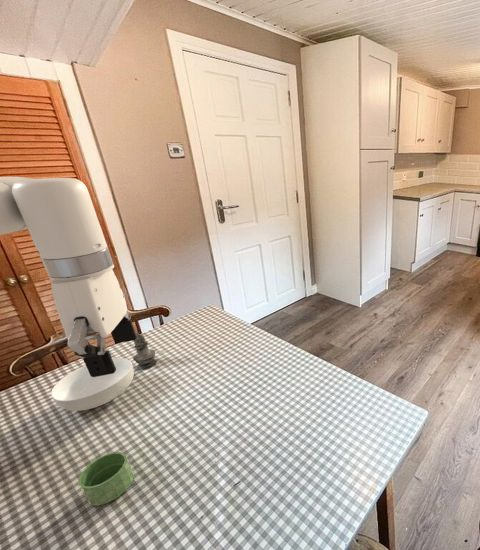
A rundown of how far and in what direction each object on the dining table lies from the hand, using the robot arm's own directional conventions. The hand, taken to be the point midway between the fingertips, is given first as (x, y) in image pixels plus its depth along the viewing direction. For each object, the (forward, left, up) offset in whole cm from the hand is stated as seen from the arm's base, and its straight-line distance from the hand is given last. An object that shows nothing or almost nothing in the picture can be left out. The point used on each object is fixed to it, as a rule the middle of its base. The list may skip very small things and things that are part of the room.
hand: (116, 356), depth 52 cm
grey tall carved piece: (-13, +44, -31) cm, 55 cm away
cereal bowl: (-21, +32, -31) cm, 49 cm away
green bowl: (-9, +1, -31) cm, 32 cm away
